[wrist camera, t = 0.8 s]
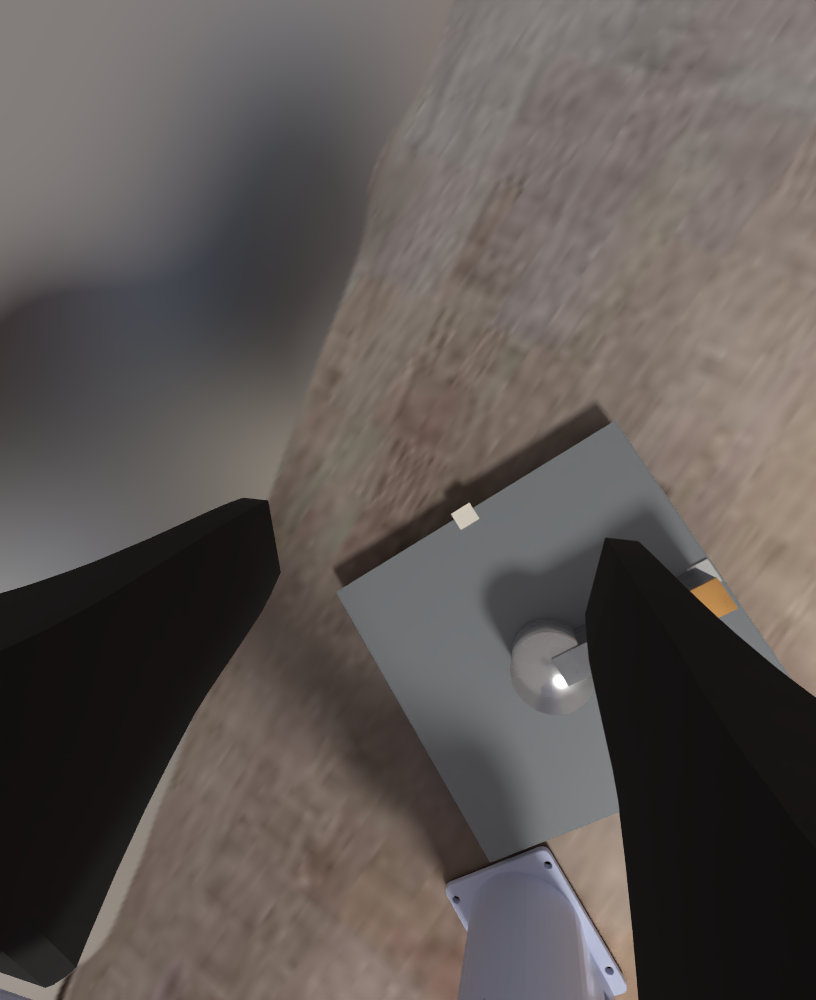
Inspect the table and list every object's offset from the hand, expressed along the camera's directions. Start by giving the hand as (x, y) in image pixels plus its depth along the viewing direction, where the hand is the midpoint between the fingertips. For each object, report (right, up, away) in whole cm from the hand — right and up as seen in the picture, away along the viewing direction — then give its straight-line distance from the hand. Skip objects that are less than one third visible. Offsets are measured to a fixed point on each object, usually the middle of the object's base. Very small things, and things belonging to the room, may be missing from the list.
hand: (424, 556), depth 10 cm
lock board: (+9, -8, +20) cm, 23 cm away
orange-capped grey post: (+11, -6, +17) cm, 21 cm away
